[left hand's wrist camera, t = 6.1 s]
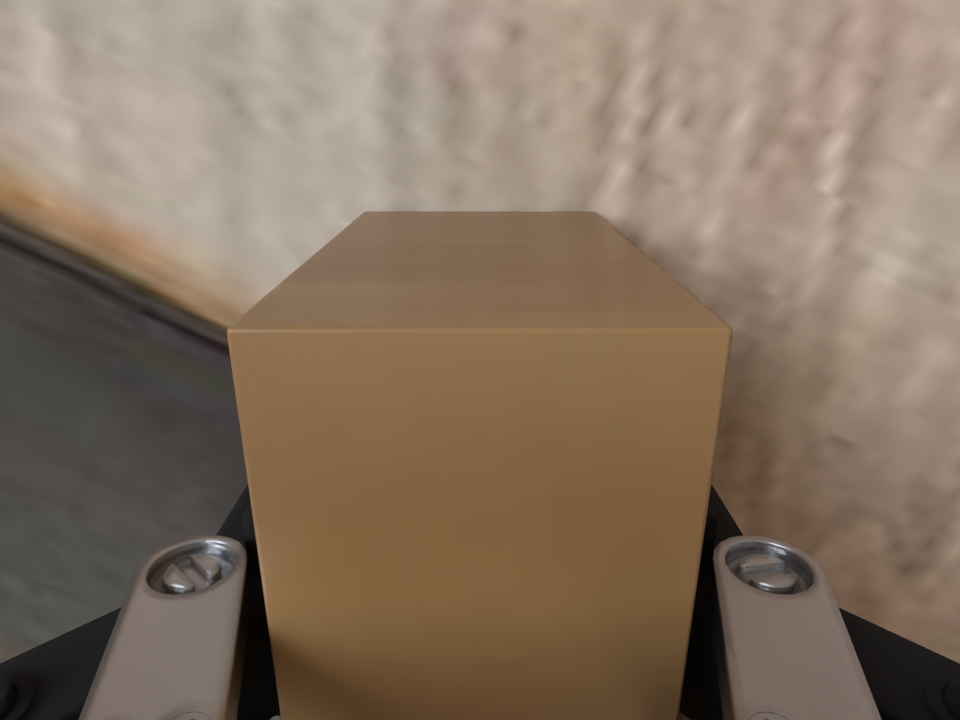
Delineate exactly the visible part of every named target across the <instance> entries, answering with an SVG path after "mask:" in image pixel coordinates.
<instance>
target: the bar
mask: <svg viewBox="0 0 960 720" xmlns="http://www.w3.org/2000/svg"><path fill="white" fill-rule="evenodd" d="M227 337H228V344H229V352H230V359H231V366H232V373H233V380H234V387H235V394H236V401H237V408H238V416H239V423H240V430H241V437H242V444H243V451H244V458H245V465H246V473H247V480H248V487H249V494H250V501H251V508H252V515H253V522H254V529H255V537H256V544H257V551H258V558H259V565H260V572H261V579H262V586H263V594H264V601H265V608H266V615H267V622H268V629H269V636H270V643H271V650H272V658H273V665H274V672H275V679H276V686H277V693H278V700H279V707H280V714H281V720H678V717H679V710H680V702H681V695H682V688H683V681H684V674H685V667H686V660H687V652H688V645H689V638H690V631H691V624H692V617H693V610H694V602H695V595H696V588H697V581H698V574H699V567H700V560H701V552H702V545H703V538H704V531H705V524H706V517H707V510H708V502H709V495H710V488H711V481H712V474H713V467H714V460H715V452H716V445H717V438H718V431H719V424H720V417H721V410H722V402H723V395H724V388H725V381H726V374H727V367H728V360H729V352H730V345H731V338H732V329H731V327H730V326H729V325H728V324H726V323H725V322H724V321H723V320H722V319H720V318H719V317H718V316H717V315H716V314H715V313H713V312H712V311H711V310H710V309H709V308H708V307H706V306H705V305H704V304H703V303H702V302H700V301H699V300H698V299H697V298H696V297H695V296H693V295H692V294H691V293H690V292H689V291H687V290H686V289H685V288H684V287H683V286H682V285H680V284H679V283H678V282H677V281H676V280H674V279H673V278H672V277H671V276H670V275H669V274H667V273H666V272H665V271H664V270H663V269H662V268H660V267H659V266H658V265H657V264H656V263H654V262H653V261H652V260H651V259H650V258H649V257H647V256H646V255H645V254H644V253H643V252H641V251H640V250H639V249H638V248H637V247H636V246H634V245H633V244H632V243H631V242H630V241H628V240H627V239H626V238H625V237H624V236H623V235H621V234H620V233H619V232H618V231H617V230H615V229H614V228H613V227H612V226H611V225H610V224H608V223H607V222H606V221H605V220H604V219H603V218H601V217H600V216H599V215H598V214H597V213H595V212H364V213H363V214H362V215H361V216H359V217H358V218H357V219H356V220H355V221H353V222H352V223H351V224H350V225H349V226H348V227H346V228H345V229H344V230H343V231H342V232H340V233H339V234H338V235H337V236H336V237H335V238H333V239H332V240H331V241H330V242H329V243H327V244H326V245H325V246H324V247H323V248H322V249H320V250H319V251H318V252H317V253H316V254H314V255H313V256H312V257H311V258H310V259H309V260H307V261H306V262H305V263H304V264H303V265H301V266H300V267H299V268H298V269H297V270H295V271H294V272H293V273H292V274H291V275H290V276H288V277H287V278H286V279H285V280H284V281H282V282H281V283H280V284H279V285H278V286H277V287H275V288H274V289H273V290H272V291H271V292H269V293H268V294H267V295H266V296H265V297H264V298H262V299H261V300H260V301H259V302H258V303H256V304H255V305H254V306H253V307H252V308H251V309H249V310H248V311H247V312H246V313H245V314H243V315H242V316H241V317H240V318H239V319H237V320H236V321H235V322H234V323H233V324H232V325H230V326H229V327H228V329H227Z"/></svg>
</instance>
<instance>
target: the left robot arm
mask: <svg viewBox="0 0 960 720" xmlns="http://www.w3.org/2000/svg"><path fill="white" fill-rule="evenodd" d="M273 716H281V714H280V707H279V700H278V693H277V686H276V679H275V672H274V665H273V658H272V650H271V643H270V636H269V629H268V622H267V615H266V608H265V601H264V594H263V586H262V579H261V572H260V565H259V558H258V551H257V544H256V537H255V529H254V522H253V515H252V508H251V501H250V494H249V487H248V485H247V487H246V488H245V490H244V492H243V493H242V495H241V496H240V498H239V500H238V501H237V503H236V504H235V506H234V508H233V509H232V511H231V512H230V514H229V516H228V517H227V519H226V521H225V522H224V524H223V525H222V527H221V529H220V530H219V532H218V533H217V535H207V536H197V537H192V538H187V539H183V540H180V541H177V542H175V543H172V544H169V545H167V546H165V547H163V548H162V549H160V550H158V551H156V552H155V553H153V554H152V555H150V556H149V557H148V558H147V559H146V560H145V561H144V562H143V563H141V565H140V566H139V568H138V569H137V571H136V572H135V574H134V576H133V579H132V582H131V584H130V587H129V589H128V592H127V595H126V597H125V600H124V602H123V605H122V607H121V608H119V609H117V610H115V611H113V612H110V613H108V614H106V615H104V616H102V617H100V618H98V619H95V620H93V621H91V622H89V623H87V624H85V625H82V626H80V627H78V628H76V629H74V630H72V631H70V632H67V633H65V634H63V635H61V636H59V637H57V638H54V639H52V640H50V641H48V642H46V643H44V644H42V645H39V646H37V647H35V648H33V649H31V650H29V651H27V652H24V653H22V654H20V655H18V656H16V657H14V658H11V659H9V660H7V661H5V662H3V663H1V664H0V720H271V718H272V717H273ZM679 716H686V717H688V718H689V720H960V664H959V663H957V662H955V661H952V660H950V659H948V658H946V657H944V656H942V655H940V654H937V653H935V652H933V651H931V650H929V649H927V648H924V647H922V646H920V645H918V644H916V643H914V642H912V641H909V640H907V639H905V638H903V637H901V636H899V635H896V634H894V633H892V632H890V631H888V630H886V629H884V628H881V627H879V626H877V625H875V624H873V623H871V622H868V621H866V620H864V619H862V618H860V617H858V616H856V615H853V614H851V613H849V612H847V611H845V610H843V609H840V608H838V605H837V602H836V600H835V597H834V595H833V592H832V589H831V587H830V584H829V582H828V579H827V576H826V574H825V573H824V571H823V569H822V568H821V566H820V565H819V563H817V562H816V561H815V560H814V559H813V558H812V557H811V556H810V555H808V554H807V553H805V552H804V551H802V550H800V549H798V548H797V547H795V546H793V545H791V544H788V543H785V542H783V541H780V540H777V539H773V538H768V537H763V536H753V535H743V534H742V533H741V531H740V529H739V528H738V526H737V525H736V523H735V521H734V520H733V518H732V517H731V515H730V513H729V512H728V510H727V509H726V507H725V505H724V504H723V502H722V501H721V499H720V497H719V496H718V494H717V493H716V491H715V489H714V488H713V486H712V485H711V488H710V495H709V502H708V510H707V517H706V524H705V531H704V538H703V545H702V552H701V560H700V567H699V574H698V581H697V588H696V595H695V602H694V610H693V617H692V624H691V631H690V638H689V645H688V652H687V660H686V667H685V674H684V681H683V688H682V695H681V702H680V710H679Z"/></svg>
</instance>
